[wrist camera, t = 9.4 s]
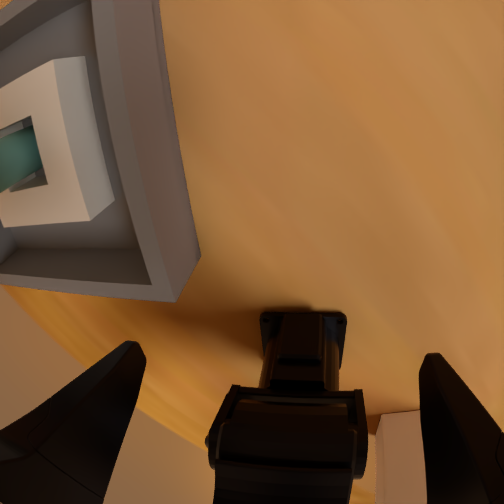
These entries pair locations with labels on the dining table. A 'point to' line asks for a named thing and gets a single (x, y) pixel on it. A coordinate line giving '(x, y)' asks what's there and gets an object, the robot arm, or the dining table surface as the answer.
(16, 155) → the peg
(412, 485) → the milk
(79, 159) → the box
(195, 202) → the dining table surface
